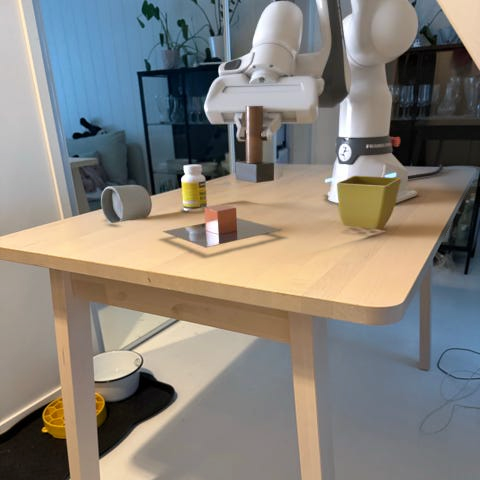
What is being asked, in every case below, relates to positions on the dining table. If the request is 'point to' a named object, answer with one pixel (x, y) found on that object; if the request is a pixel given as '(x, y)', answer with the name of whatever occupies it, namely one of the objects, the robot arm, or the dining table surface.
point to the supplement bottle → (193, 187)
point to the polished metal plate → (207, 239)
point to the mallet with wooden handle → (254, 150)
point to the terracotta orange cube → (221, 219)
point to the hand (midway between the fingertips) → (253, 138)
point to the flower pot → (367, 200)
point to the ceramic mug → (125, 203)
